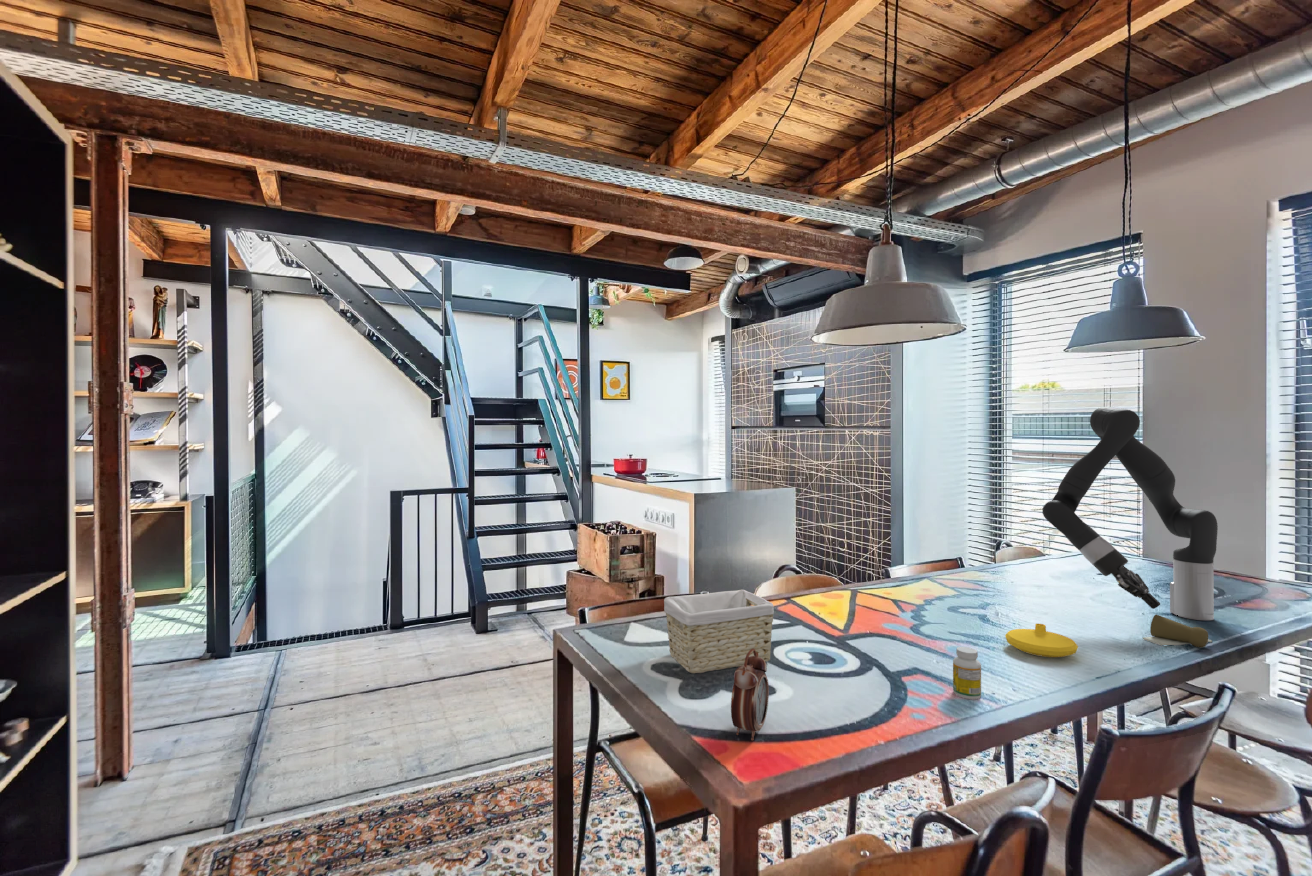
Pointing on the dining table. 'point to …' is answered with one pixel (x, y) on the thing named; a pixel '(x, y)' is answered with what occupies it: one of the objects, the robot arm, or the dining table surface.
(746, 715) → the alarm clock
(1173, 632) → the cork
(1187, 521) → the robot arm
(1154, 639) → the pad
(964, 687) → the supplement bottle
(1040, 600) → the dining table surface
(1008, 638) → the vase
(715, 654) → the storage basket
